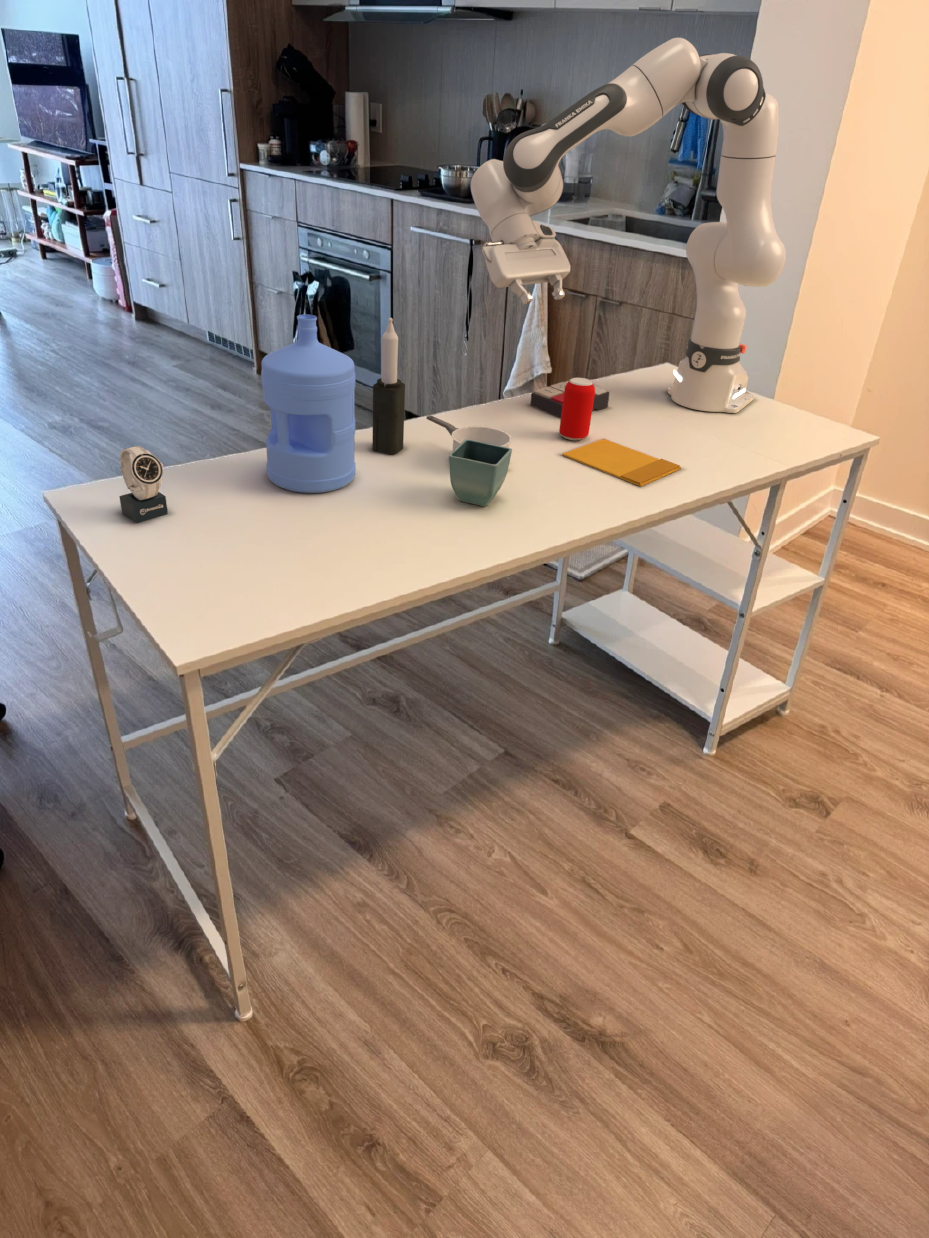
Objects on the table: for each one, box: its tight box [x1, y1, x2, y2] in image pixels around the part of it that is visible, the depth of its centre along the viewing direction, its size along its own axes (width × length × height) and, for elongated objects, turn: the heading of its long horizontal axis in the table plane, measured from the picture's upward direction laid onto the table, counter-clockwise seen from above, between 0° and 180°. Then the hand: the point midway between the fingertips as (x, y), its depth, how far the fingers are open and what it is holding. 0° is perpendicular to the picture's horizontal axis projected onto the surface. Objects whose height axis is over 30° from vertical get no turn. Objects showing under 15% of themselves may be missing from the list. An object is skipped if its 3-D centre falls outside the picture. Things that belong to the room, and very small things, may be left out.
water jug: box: [260, 313, 356, 494], centre depth 147 cm, size 16×16×28 cm
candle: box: [371, 317, 406, 456], centre depth 162 cm, size 5×5×25 cm
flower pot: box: [448, 439, 513, 507], centre depth 149 cm, size 9×9×9 cm
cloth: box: [561, 438, 682, 488], centre depth 171 cm, size 14×19×1 cm
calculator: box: [530, 380, 610, 418], centre depth 197 cm, size 11×4×15 cm
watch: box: [119, 445, 169, 524], centre depth 135 cm, size 6×8×11 cm
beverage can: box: [558, 377, 595, 442], centre depth 178 cm, size 6×6×12 cm
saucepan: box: [425, 414, 513, 452], centre depth 166 cm, size 12×20×6 cm, turn 47°
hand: (544, 300), depth 175 cm, fingers open, 8 cm apart
